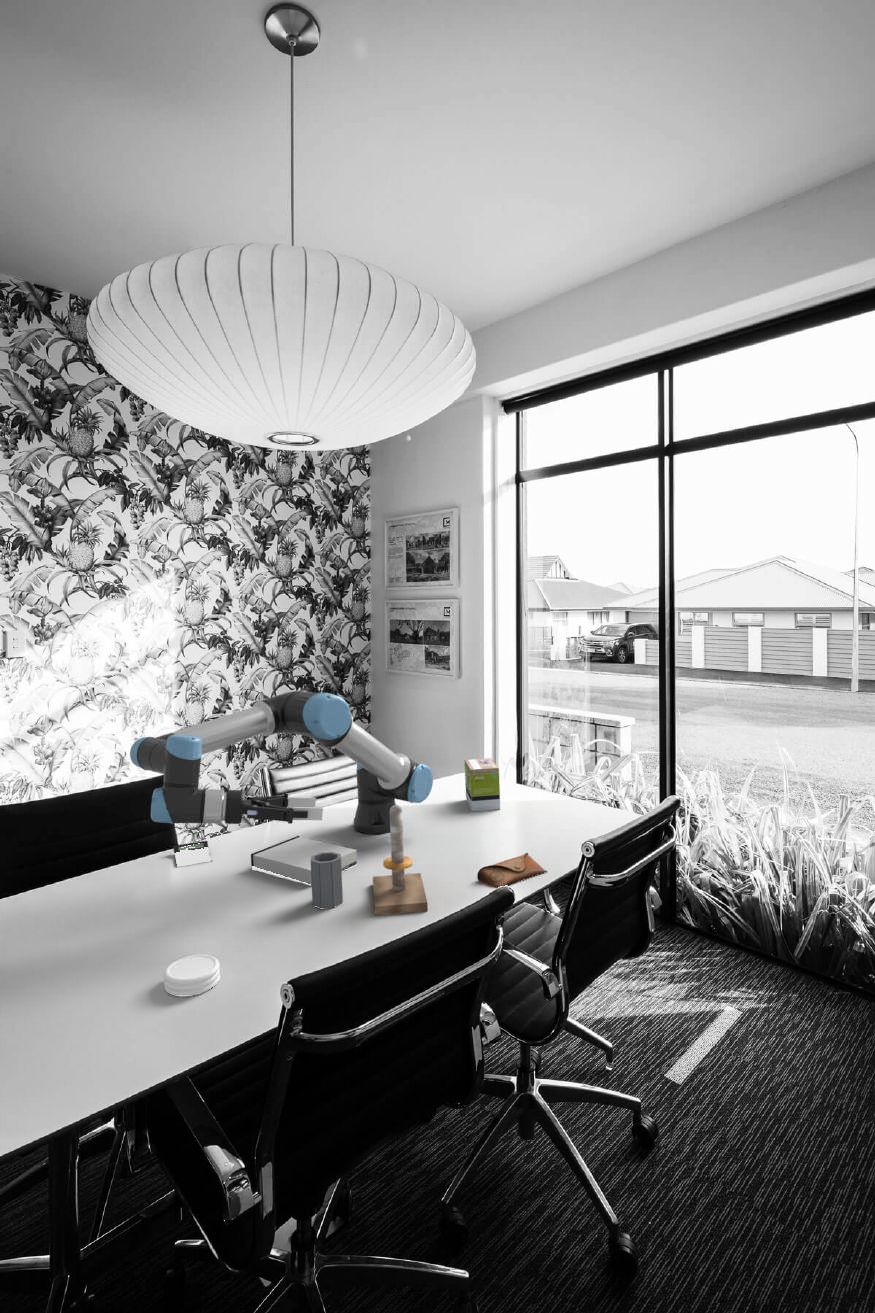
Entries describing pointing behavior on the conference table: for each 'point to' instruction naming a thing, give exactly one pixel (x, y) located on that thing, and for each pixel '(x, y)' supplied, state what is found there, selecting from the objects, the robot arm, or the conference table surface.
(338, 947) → the conference table surface
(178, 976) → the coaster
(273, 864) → the disc drive
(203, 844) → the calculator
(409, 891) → the post stand
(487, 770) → the tea box
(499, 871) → the sunglasses case
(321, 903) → the sleeve
